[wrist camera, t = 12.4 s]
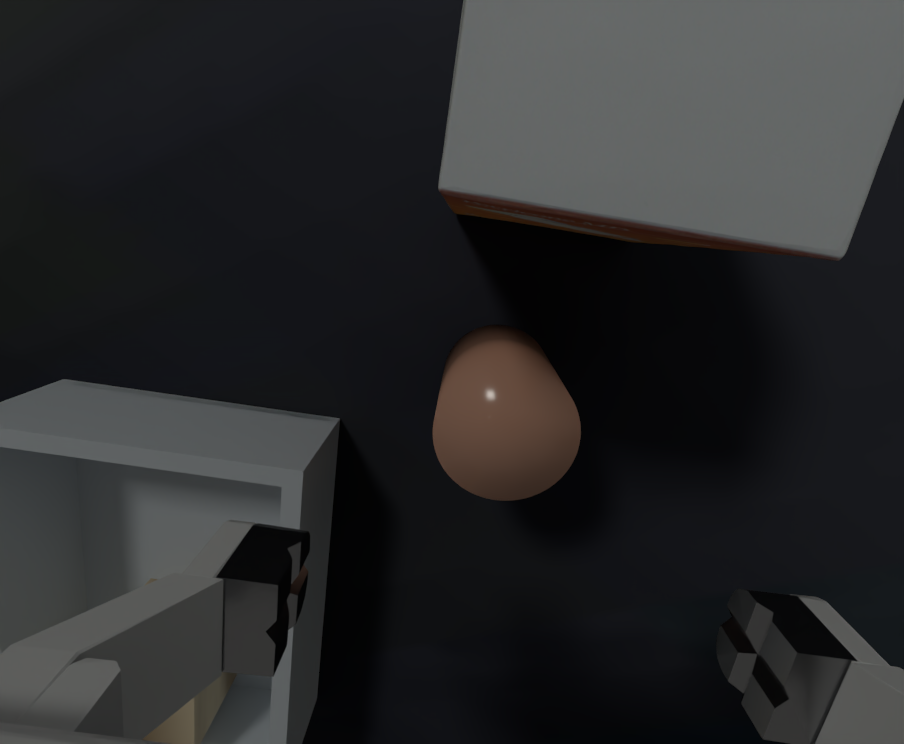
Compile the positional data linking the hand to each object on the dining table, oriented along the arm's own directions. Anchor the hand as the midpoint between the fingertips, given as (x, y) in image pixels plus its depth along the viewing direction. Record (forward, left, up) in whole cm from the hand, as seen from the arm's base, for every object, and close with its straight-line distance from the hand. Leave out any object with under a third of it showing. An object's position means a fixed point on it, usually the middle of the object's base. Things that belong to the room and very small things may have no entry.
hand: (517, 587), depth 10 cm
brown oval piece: (0, 0, -15) cm, 15 cm away
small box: (-1, -10, -15) cm, 18 cm away
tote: (+14, +12, -15) cm, 23 cm away
